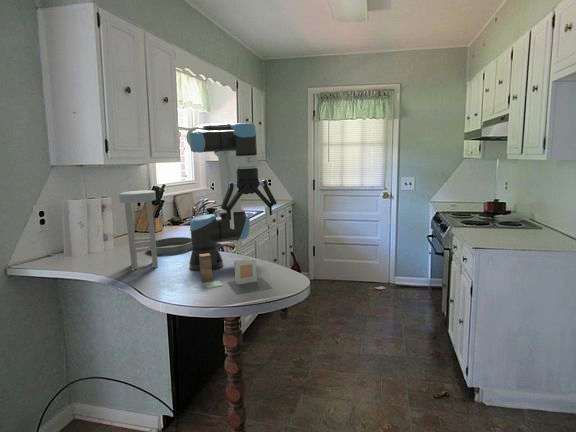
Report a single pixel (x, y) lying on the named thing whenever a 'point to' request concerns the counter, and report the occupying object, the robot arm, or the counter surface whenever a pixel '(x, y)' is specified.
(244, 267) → the tile
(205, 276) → the block
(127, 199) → the stool
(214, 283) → the rest pad
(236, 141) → the robot arm
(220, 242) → the kitchen cleaver
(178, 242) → the cake pan
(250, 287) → the mat
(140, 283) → the counter surface
